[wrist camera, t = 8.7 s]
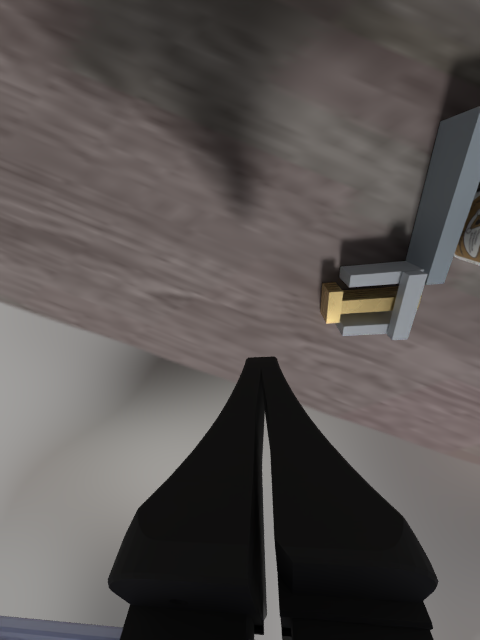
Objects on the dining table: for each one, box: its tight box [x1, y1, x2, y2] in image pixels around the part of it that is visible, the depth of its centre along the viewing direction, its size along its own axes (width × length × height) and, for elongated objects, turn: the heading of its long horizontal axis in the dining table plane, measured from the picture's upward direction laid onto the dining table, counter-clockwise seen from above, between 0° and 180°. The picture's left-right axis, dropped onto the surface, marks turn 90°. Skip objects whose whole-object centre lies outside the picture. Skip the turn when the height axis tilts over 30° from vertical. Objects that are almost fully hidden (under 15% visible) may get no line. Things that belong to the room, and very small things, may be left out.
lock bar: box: [320, 282, 422, 323], centre depth 16 cm, size 6×2×2 cm, turn 96°
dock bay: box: [335, 106, 480, 340], centre depth 13 cm, size 12×12×3 cm
